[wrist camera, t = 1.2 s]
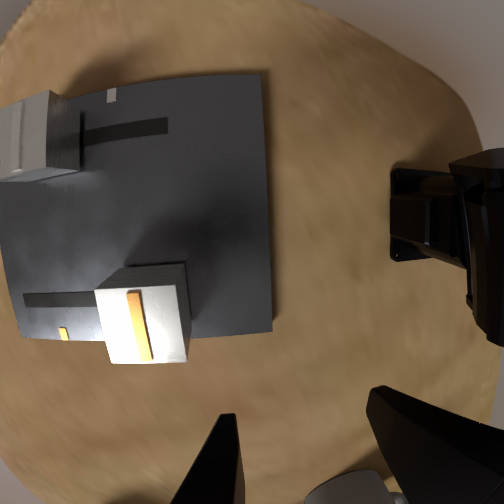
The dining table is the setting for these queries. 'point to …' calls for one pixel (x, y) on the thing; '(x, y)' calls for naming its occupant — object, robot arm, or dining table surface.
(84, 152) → the plate
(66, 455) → the dining table surface
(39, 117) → the fader
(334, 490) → the coffee mug
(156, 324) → the fader
